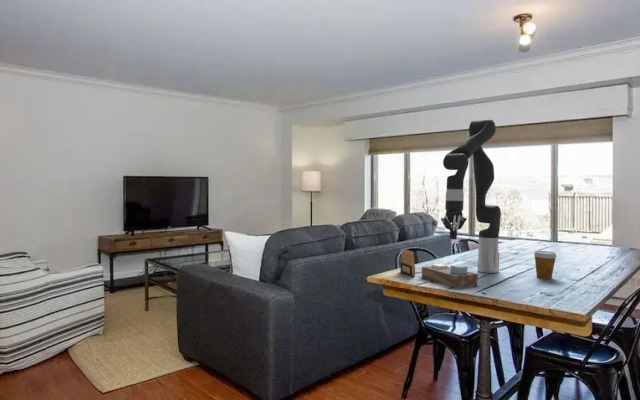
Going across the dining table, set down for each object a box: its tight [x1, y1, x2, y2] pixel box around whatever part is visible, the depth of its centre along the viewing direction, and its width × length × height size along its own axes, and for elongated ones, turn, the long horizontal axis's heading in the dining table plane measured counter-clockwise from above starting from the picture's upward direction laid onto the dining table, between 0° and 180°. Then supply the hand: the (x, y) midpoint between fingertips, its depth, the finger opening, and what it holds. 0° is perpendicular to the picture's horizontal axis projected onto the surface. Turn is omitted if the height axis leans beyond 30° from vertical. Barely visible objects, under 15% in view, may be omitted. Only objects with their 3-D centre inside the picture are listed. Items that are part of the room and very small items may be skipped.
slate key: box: [450, 264, 468, 275], centre depth 189 cm, size 5×5×4 cm
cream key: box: [431, 263, 448, 269], centre depth 200 cm, size 5×5×4 cm
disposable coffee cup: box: [533, 250, 557, 280], centre depth 205 cm, size 10×10×12 cm
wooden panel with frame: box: [399, 247, 416, 278], centre depth 208 cm, size 11×2×12 cm, turn 18°
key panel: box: [421, 265, 479, 289], centre depth 195 cm, size 12×22×5 cm, turn 27°
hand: (453, 239), depth 191 cm, fingers closed
